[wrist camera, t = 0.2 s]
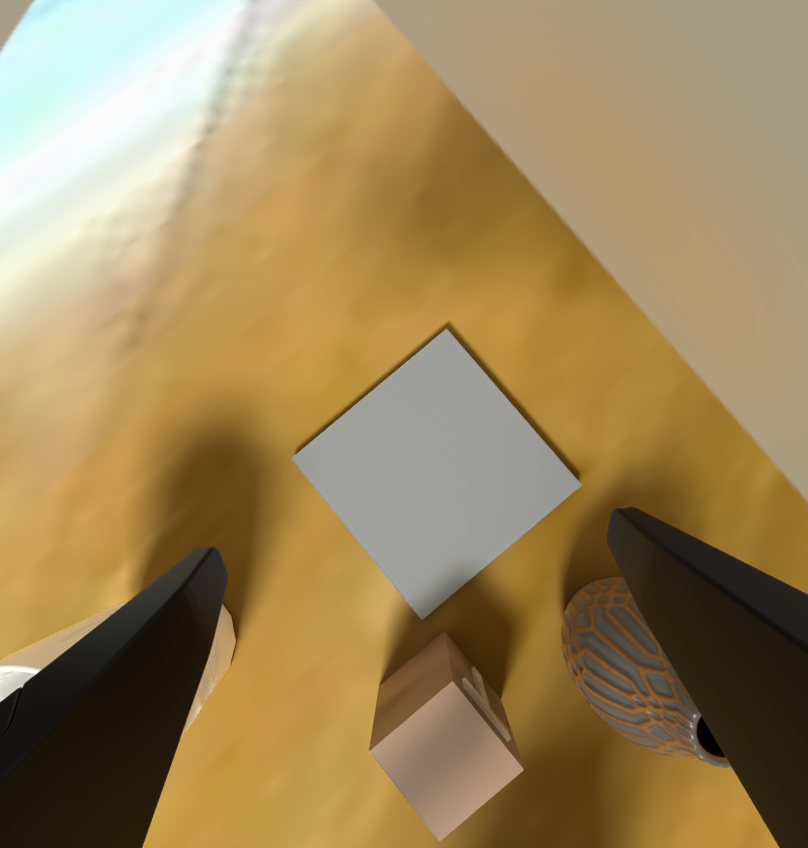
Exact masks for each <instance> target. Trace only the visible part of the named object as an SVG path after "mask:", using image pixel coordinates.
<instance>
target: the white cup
mask: <svg viewBox="0 0 808 848" xmlns="http://www.w3.org/2000/svg"><path fill="white" fill-rule="evenodd" d="M127 602H128V601H125V602H122V603H120V604H118V605H116V606H114V607H111V608H109V609H106V610H104V611H101V612H99V613H97V614H95V615H93V616H91V617H89V618H87V619H84V620H82V621H80V622H78V623H76V624H74V625H72V626H70V627H67V628H65V629H63V630H61V631H58V632H56V633H54V634H52V635H50V636H48V637H45V638H43V639H41V640H39V641H37V642H35V643H33V644H31V645H28V646H26V647H24V648H22V649H20V650H18V651H16V652H13V653H11V654H9V655H7V656H5V657H3V658H1V659H0V702H1V701H2V700H3V699H5V698H6V697H7V696H9V695H10V694H11V693H12V692H14V691H15V690H16V689H17V688H19V687H23V685H24V683H25V682H26V681H28V680H29V679H30V678H32V677H33V676H34V675H35V674H37V673H38V672H39V671H40V670H42V669H43V668H44V667H46V666H47V665H48V664H49V663H51V662H52V661H53V660H55V659H56V658H57V657H58V656H60V655H61V654H62V653H63V652H65V651H66V650H67V649H69V648H70V647H71V646H72V645H74V644H75V643H76V642H77V641H79V640H80V639H81V638H83V637H84V636H85V635H86V634H88V633H89V632H90V631H91V630H93V629H94V628H95V627H97V626H98V625H99V624H100V623H102V622H103V621H104V620H105V619H107V618H108V617H109V616H111V615H112V614H113V613H114V612H116V611H117V610H118V609H119V608H121V607H122V606H123V605H125V604H126V603H127ZM235 644H236V639H235V633H234V628H233V622H232V617H231V615H230V613H229V612H228V611H227V609H226V608H225V606H224V605H223V604H222V608H221V612H220V616H219V620H218V624H217V629H216V633H215V637H214V641H213V645H212V648H211V652H210V655H209V658H208V661H207V664H206V667H205V670H204V673H203V675H202V678H201V681H200V684H199V687H198V690H197V692H196V695H195V698H194V701H193V704H192V707H191V710H190V712H189V715H188V718H187V721H186V724H185V727H184V730H183V732H182V735H181V738H182V737H183V735H184V734H185V732H186V731H187V729H188V728H189V727H190V725H191V724H192V722H193V721H194V719H195V718H196V716H197V715H198V713H199V712H200V711H201V709H202V707H203V705H204V703H205V701H206V699H207V698H208V696H209V695H210V693H211V692H212V690H213V689H214V687H215V686H216V685H217V683H218V682H219V681H220V680H221V678H222V677H223V676H224V674H225V673H226V672H227V670H228V669H229V667H230V663H231V659H232V655H233V652H234V648H235ZM181 738H180V740H181Z"/></svg>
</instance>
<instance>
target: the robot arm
mask: <svg viewBox="0 0 808 848" xmlns="http://www.w3.org/2000/svg"><path fill="white" fill-rule="evenodd" d="M607 541H608V545H609V548H610V550H611V552H612V554H613V556H614V558H615V560H616V563H617V565H618V567H619V569H620V571H621V573H622V576H623V578H624V580H625V582H626V584H627V586H628V588H629V591H630V593H631V595H632V597H633V599H634V601H635V603H636V605H637V607H638V609H639V611H640V613H641V615H642V616H643V618H644V620H645V622H646V623H647V625H648V627H649V628H650V630H651V632H652V633H653V635H654V637H655V638H656V640H657V642H658V643H659V645H660V647H661V648H662V650H663V652H664V654H665V655H666V657H667V659H668V660H669V662H670V664H671V665H672V667H673V669H674V670H675V672H676V674H677V675H678V677H679V679H680V681H681V682H682V684H683V686H684V687H685V689H686V691H687V692H688V694H689V696H690V697H691V699H692V701H693V702H694V704H695V706H696V708H697V709H698V711H699V713H700V714H701V716H702V718H703V719H704V721H705V723H706V724H707V726H708V728H709V729H710V731H711V733H712V734H713V736H714V738H715V740H716V741H717V743H718V745H719V746H720V748H721V750H722V751H723V753H724V755H725V756H726V758H727V760H728V761H729V763H730V765H731V767H732V768H733V770H734V772H735V773H736V775H737V777H738V778H739V780H740V782H741V783H742V785H743V787H744V788H745V790H746V792H747V794H748V795H749V797H750V799H751V800H752V802H753V804H754V805H755V807H756V809H757V810H758V812H759V814H760V815H761V817H762V819H763V821H764V822H765V824H766V826H767V827H768V829H769V831H770V832H771V834H772V836H773V837H774V839H775V841H776V842H777V844H778V846H779V847H780V848H808V594H806V593H804V592H802V591H800V590H798V589H796V588H794V587H792V586H790V585H788V584H786V583H784V582H782V581H780V580H778V579H776V578H774V577H772V576H770V575H768V574H766V573H764V572H762V571H760V570H758V569H756V568H754V567H752V566H750V565H748V564H746V563H744V562H742V561H740V560H739V559H737V558H735V557H733V556H731V555H729V554H727V553H725V552H723V551H721V550H719V549H717V548H715V547H713V546H711V545H709V544H707V543H705V542H703V541H701V540H699V539H697V538H695V537H693V536H691V535H689V534H687V533H685V532H683V531H681V530H679V529H677V528H675V527H673V526H671V525H669V524H667V523H665V522H663V521H661V520H659V519H657V518H655V517H653V516H651V515H649V514H647V513H645V512H643V511H641V510H639V509H637V508H635V507H632V506H627V507H617V508H614V509H613V511H612V513H611V517H610V522H609V528H608V533H607ZM227 582H228V574H227V570H226V568H225V565H224V562H223V560H222V557H221V555H220V552H219V550H218V549H217V548H216V547H214V546H211V547H200V548H197V549H195V550H193V551H192V552H191V553H190V554H188V555H187V556H186V557H184V558H183V559H182V560H181V561H179V562H178V563H177V564H176V565H174V566H173V567H172V568H170V569H169V570H168V571H167V572H165V573H164V574H163V575H161V576H160V577H159V578H158V579H156V580H155V581H154V582H153V583H151V584H150V585H149V586H147V587H146V588H145V589H144V590H142V591H141V592H140V593H139V594H137V595H136V596H135V597H133V598H132V599H131V600H130V601H128V602H127V603H126V604H125V605H123V606H122V607H121V608H119V609H118V610H117V611H116V612H114V613H113V614H112V615H111V616H109V617H108V618H107V619H105V620H104V621H103V622H102V623H100V624H99V625H98V626H97V627H95V628H94V629H93V630H91V631H90V632H89V633H88V634H86V635H85V636H84V637H83V638H81V639H80V640H79V641H77V642H76V643H75V644H74V645H72V646H71V647H70V648H69V649H67V650H66V651H65V652H63V653H62V654H61V655H60V656H58V657H57V658H56V659H55V660H53V661H52V662H51V663H49V664H48V665H47V666H46V667H44V668H43V669H42V670H40V671H39V672H38V673H37V674H35V675H34V676H33V677H32V678H30V679H29V680H28V681H26V682H25V683H24V685H23V687H19V688H17V689H16V690H15V691H14V692H12V693H11V694H10V695H9V696H7V697H6V698H5V699H3V700H2V701H1V702H0V848H142V847H143V844H144V841H145V838H146V835H147V832H148V829H149V827H150V824H151V821H152V818H153V815H154V812H155V810H156V807H157V804H158V801H159V798H160V795H161V792H162V790H163V787H164V784H165V781H166V778H167V775H168V772H169V770H170V767H171V764H172V761H173V758H174V755H175V752H176V750H177V747H178V744H179V741H180V738H181V735H182V732H183V730H184V727H185V724H186V721H187V718H188V715H189V712H190V710H191V707H192V704H193V701H194V698H195V695H196V692H197V690H198V687H199V684H200V681H201V678H202V675H203V673H204V670H205V667H206V664H207V661H208V658H209V655H210V652H211V648H212V645H213V641H214V637H215V633H216V629H217V624H218V620H219V616H220V612H221V608H222V603H223V599H224V595H225V591H226V587H227Z"/></svg>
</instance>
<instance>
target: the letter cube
mask: <svg viewBox="0 0 808 848" xmlns="http://www.w3.org/2000/svg"><path fill="white" fill-rule="evenodd" d="M369 752H370V753H371V755H372V756H373V757H374V758H375V760H376V761H377V762H378V764H379V765H380V766H381V767H382V769H383V770H384V771H385V773H386V774H387V775H388V776H389V778H390V779H391V780H392V782H393V783H394V784H395V785H396V787H397V788H398V789H399V791H400V792H401V793H402V794H403V796H404V797H405V798H406V800H407V801H408V802H409V803H410V805H411V806H412V807H413V808H414V810H415V811H416V812H417V814H418V815H419V816H420V817H421V819H422V820H423V821H424V823H425V824H426V825H427V826H428V828H429V829H430V830H431V832H432V833H433V834H434V835H435V837H436V838H437V839H438V841H439V842H440V841H441V840H442V839H443V838H445V837H446V836H447V835H448V834H449V833H450V832H452V831H453V830H454V829H455V828H456V827H457V826H459V825H460V824H461V823H462V822H463V821H465V820H466V819H467V818H468V817H469V816H470V815H472V814H473V813H474V812H475V811H476V810H477V809H479V808H480V807H481V806H482V805H483V804H485V803H486V802H487V801H488V800H489V799H490V798H492V797H493V796H494V795H495V794H496V793H497V792H499V791H500V790H501V789H502V788H503V787H504V786H506V785H507V784H508V783H509V782H510V781H512V780H513V779H514V778H515V777H516V776H517V775H519V774H520V773H521V772H522V771H523V770H524V768H523V765H522V762H521V759H520V756H519V753H518V750H517V747H516V744H515V741H514V738H513V735H512V732H511V729H510V726H509V723H508V720H507V717H506V714H505V711H504V708H503V705H502V702H501V699H500V698H499V696H498V695H497V694H496V693H495V692H494V690H493V689H492V688H491V687H490V685H489V684H488V683H487V682H486V680H485V679H484V678H483V677H482V676H481V674H480V673H479V672H478V671H477V669H476V668H475V667H474V666H473V664H472V663H471V662H470V661H469V660H468V658H467V657H466V656H465V655H464V653H463V652H462V651H461V650H460V648H459V647H458V646H457V645H456V644H455V642H454V641H453V640H452V639H451V637H450V636H449V635H448V634H447V632H446V631H445V630H444V631H443V632H442V633H441V634H440V635H438V636H437V637H436V638H435V639H434V640H433V641H431V642H430V643H429V644H428V645H427V646H425V647H424V648H423V649H422V650H421V651H419V652H418V653H417V654H416V655H415V656H414V657H412V658H411V659H410V660H409V661H408V662H406V663H405V664H404V665H403V666H402V667H401V668H399V669H398V670H397V671H396V672H395V673H393V674H392V675H391V676H390V677H389V678H388V679H386V680H385V681H384V682H383V683H382V684H380V685H379V690H378V697H377V703H376V710H375V716H374V723H373V729H372V736H371V742H370V749H369Z"/></svg>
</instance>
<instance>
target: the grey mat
mask: <svg viewBox="0 0 808 848" xmlns="http://www.w3.org/2000/svg"><path fill="white" fill-rule="evenodd" d="M291 459H292V461H293V462H294V463H295V464H296V466H297V467H298V468H299V469H300V471H301V472H302V473H303V474H304V475H305V477H306V478H307V479H308V480H309V482H310V483H311V484H312V485H313V487H314V488H315V489H316V490H317V492H318V493H319V494H320V495H321V496H322V498H323V499H324V500H325V501H326V503H327V504H328V505H329V506H330V508H331V509H332V510H333V511H334V513H335V514H336V515H337V516H338V517H339V519H340V520H341V521H342V522H343V524H344V525H345V526H346V527H347V529H348V530H349V531H350V532H351V534H352V535H353V536H354V537H355V538H356V540H357V541H358V542H359V543H360V545H361V546H362V547H363V548H364V550H365V551H366V552H367V553H368V555H369V556H370V557H371V558H372V559H373V561H374V562H375V563H376V564H377V566H378V567H379V568H380V569H381V571H382V572H383V573H384V574H385V576H386V577H387V578H388V579H389V580H390V582H391V583H392V584H393V585H394V587H395V588H396V589H397V590H398V592H399V593H400V594H401V595H402V597H403V598H404V599H405V600H406V601H407V603H408V604H409V605H410V606H411V608H412V609H413V610H414V611H415V613H416V614H417V615H418V616H419V618H420V619H421V620H423V619H424V618H425V617H426V616H428V615H429V614H430V613H431V612H432V611H433V610H435V609H436V608H437V607H438V606H439V605H441V604H442V603H443V602H444V601H445V600H447V599H448V598H449V597H450V596H451V595H452V594H454V593H455V592H456V591H457V590H458V589H460V588H461V587H462V586H463V585H464V584H465V583H467V582H468V581H469V580H470V579H471V578H473V577H474V576H475V575H476V574H477V573H479V572H480V571H481V570H482V569H483V568H484V567H486V566H487V565H488V564H489V563H490V562H492V561H493V560H494V559H495V558H496V557H498V556H499V555H500V554H501V553H502V552H503V551H505V550H506V549H507V548H508V547H509V546H511V545H512V544H513V543H514V542H515V541H516V540H518V539H519V538H520V537H521V536H522V535H524V534H525V533H526V532H527V531H528V530H530V529H531V528H532V527H533V526H534V525H535V524H537V523H538V522H539V521H540V520H541V519H543V518H544V517H545V516H546V515H547V514H549V513H550V512H551V511H552V510H553V509H554V508H556V507H557V506H558V505H559V504H560V503H562V502H563V501H564V500H565V499H566V498H567V497H569V496H570V495H571V494H572V493H573V492H575V491H576V490H577V489H578V488H579V487H581V486H582V485H581V484H580V482H579V481H578V480H577V479H576V478H575V477H574V475H573V474H572V473H571V472H570V471H569V470H568V468H567V467H566V466H565V465H564V464H563V463H562V462H561V460H560V459H559V458H558V457H557V456H556V455H555V453H554V452H553V451H552V450H551V449H550V448H549V446H548V445H547V444H546V443H545V442H544V441H543V440H542V438H541V437H540V436H539V435H538V434H537V433H536V431H535V430H534V429H533V428H532V427H531V426H530V424H529V423H528V422H527V421H526V420H525V419H524V418H523V416H522V415H521V414H520V413H519V412H518V411H517V409H516V408H515V407H514V406H513V405H512V404H511V402H510V401H509V400H508V399H507V398H506V397H505V396H504V394H503V393H502V392H501V391H500V390H499V389H498V387H497V386H496V385H495V384H494V383H493V382H492V380H491V379H490V378H489V377H488V376H487V375H486V374H485V372H484V371H483V370H482V369H481V368H480V367H479V365H478V364H477V363H476V362H475V361H474V360H473V358H472V357H471V356H470V355H469V354H468V353H467V352H466V350H465V349H464V348H463V347H462V346H461V345H460V343H459V342H458V341H457V340H456V339H455V338H454V336H453V335H452V334H451V333H450V332H449V331H448V330H447V329H445V330H444V331H443V332H442V333H441V334H439V335H438V336H437V337H436V338H435V339H433V340H432V341H431V342H430V343H429V344H427V345H426V346H425V347H424V348H423V349H421V350H420V351H419V352H418V353H417V354H415V355H414V356H413V357H412V358H411V359H409V360H408V361H407V362H406V363H405V364H403V365H402V366H401V367H400V368H399V369H397V370H396V371H395V372H394V373H393V374H391V375H390V376H389V377H388V378H387V379H385V380H384V381H383V382H382V383H381V384H379V385H378V386H377V387H376V388H375V389H374V390H372V391H371V392H370V393H369V394H368V395H366V396H365V397H364V398H363V399H362V400H360V401H359V402H358V403H357V404H356V405H354V406H353V407H352V408H351V409H350V410H348V411H347V412H346V413H345V414H344V415H342V416H341V417H340V418H339V419H338V420H336V421H335V422H334V423H333V424H332V425H330V426H329V427H328V428H327V429H326V430H324V431H323V432H322V433H321V434H320V435H318V436H317V437H316V438H315V439H314V440H312V441H311V442H310V443H309V444H308V445H307V446H305V447H304V448H303V449H302V450H301V451H299V452H298V453H297V454H296V455H295V456H293V457H292V458H291Z"/></svg>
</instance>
